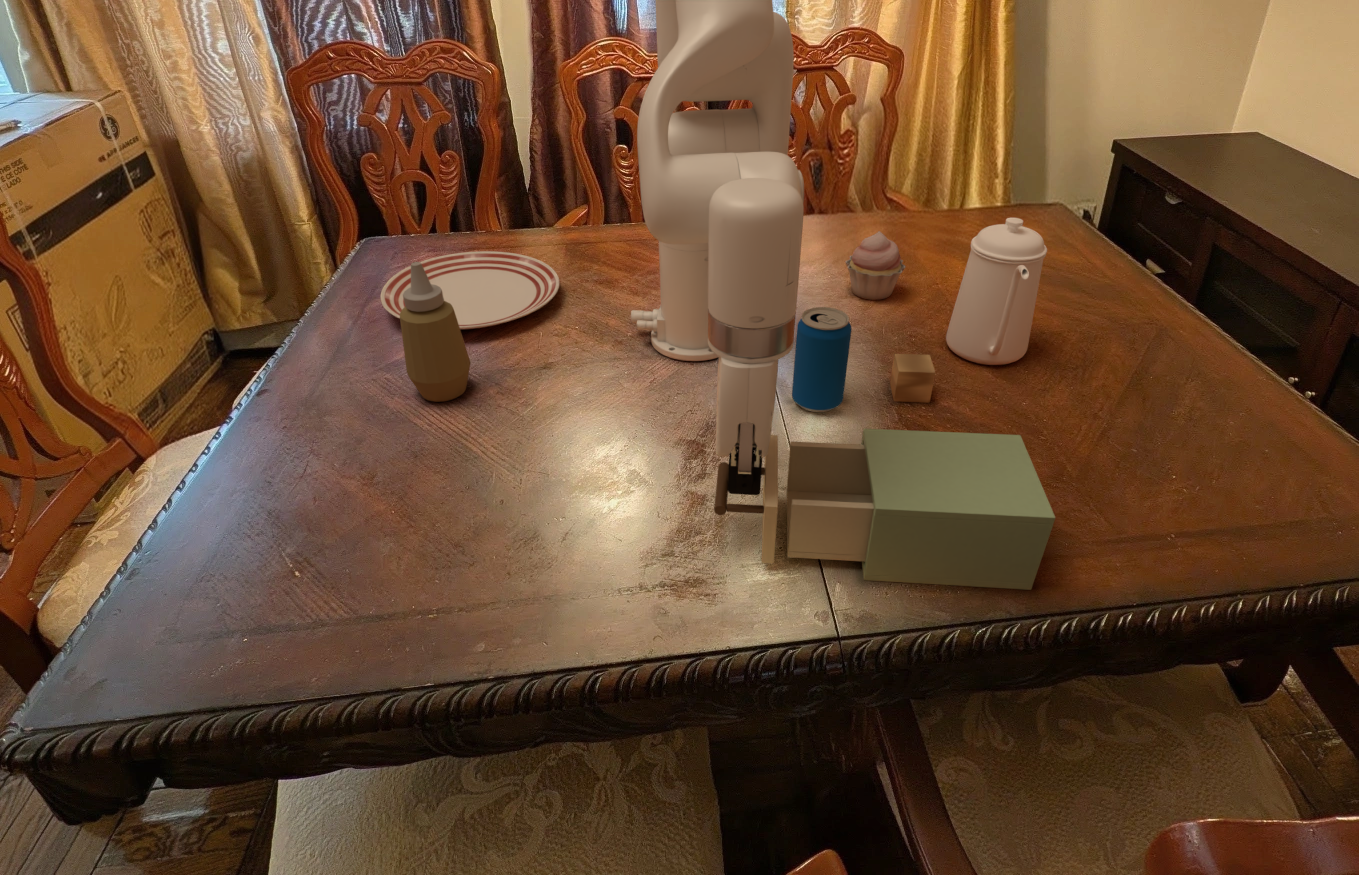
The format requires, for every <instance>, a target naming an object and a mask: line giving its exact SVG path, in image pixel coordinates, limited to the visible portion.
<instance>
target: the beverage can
mask: <svg viewBox="0 0 1359 875" xmlns="http://www.w3.org/2000/svg"><path fill="white" fill-rule="evenodd" d="M796 326H797V327H796V337H795V338H796V339H795V351H794V363H793V375H792V376H793V377H792V390H791V397H792V401H794V403H796V404H797V405H798V406H800V407H801V408H802V409H804V410H806V411H809V412H812V413H826V412H829V411H831V410H833V409H836V408H838V407H839V406H840V405H841V404H842V403H843V401H844V396H845V395H844V394H845V387H846V380H847V378H846V377H847V371H848V361H849V354H850V348H851V347H850V345H851V337H852V330H853V329H852V325H851V322H850V317H849V315H848V314H847V313H846V312H845V311H843V310H841V309H838V308H834V307H830V306H829V307H828V306H816V307H811V308H808V309H806V310H805V311H803V312H802V314H801V318H800V320H798V322H797V325H796Z"/></svg>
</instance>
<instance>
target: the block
mask: <svg viewBox="0 0 1359 875" xmlns="http://www.w3.org/2000/svg"><path fill="white" fill-rule="evenodd" d="M935 376H936V370H935V367H934V364H933V359H932V357H931V354H923V353H922V354H920V353H919V354H918V353H894V355H893V361H892V367H891V373H890V378H889V385H890V390H891V391H890V392H891V394H892V399H893V402H899V403H902V402H903V403H927V404H928V403H929V404H930V402H931V397H932V392H933V387H934V384H935V383H934V382H935Z"/></svg>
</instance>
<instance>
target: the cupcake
mask: <svg viewBox="0 0 1359 875" xmlns="http://www.w3.org/2000/svg"><path fill="white" fill-rule="evenodd" d="M899 249H900V248H899V246H898V244H897V243H896V242H894V240H891V239H888V238H887V236H886V235H885V234H884V233H883V232H882V231H880V230H878V231H876V233H874V234H872V235H869V236H867V237H865V238H864V239H862V241H860V244H859V245H858V246H857V247H856V248H855V249H854V250H853V252H852V255H849V259H847V260H845V261H844V262H845V265H846V268H847V270H848V273H849V278H850V286H851V287H850V288H851V291H852V293H853V294H854V295H855V296H856V297H858V298H861V299H865V300H871V301H872V300H873V301H877V300H884V299H887V298H889V297H890V296H891V295H892V294H893V292H894V290H895V287H896V284H897V282H898V280H899V278H900V276H901V275H902V273H903V272H904V271H905V269H906V267H907V266H906V265H905V264H903V262H904V260H903V259H901V253H900V250H899Z"/></svg>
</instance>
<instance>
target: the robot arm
mask: <svg viewBox="0 0 1359 875" xmlns="http://www.w3.org/2000/svg"><path fill="white" fill-rule="evenodd" d="M773 5H774V4H773V0H655V27H656V28H655V29H656V53H657V54H656V56H657V69H656V70H655V72H654V73H653V76H652V77H651V79H650V81H649V82H648V85H647V87H646V89H645V92H644V95H643V98H642V102H641V103H640V108H639V113H638V118H637V127H636V128H637V129H636V131H637V132H636V144H637V145H636V147H637V160H638V162H637V163H638V172H639V174H638V175H639V187H640V190H639V191H640V198H641V209H642V215H643V219H644V223H645V225H646V228H647V230H648V231H649V233H650V234H651V235H652V237H653V238H654V239H656V240H657V241H658V263H659V264H658V265H659V291H660V292H659V293H660V294H659V295H660V298H659V299H660V305H659V308H653V309H652V310H651V311H650V310H643V309H642V310H638V309H637V310H636V309H632V310H631V311H630V324H635V325H636V330H637V331H651V332H650V343H651V345H652V347H653V348H654V349H655V351H657V352H658V353H660V354H661V355H663V356H665V357H668V358H669V359H674V360H679V361H684V362H685V361H686V362H703V361H704V362H705V361H708V360H709V361H710V360H714V359H717V358H718V361H717V373H716V374H717V375H716V377H717V378H716V413H715V414H716V416H715V417H716V419H715V420H716V421H715V448H714V449H715V451H714V452H715V454H716V455H717V456H718V457H719V458H722V457H727V458H728V464H729V474H728V494H730V495H745V496H746V495H747V496H759V495H760V494H761V490H762V489H761V488H762V487H761V486H762V475H761V471H762V467H763V459H765V456H766V455H767V454H768V449H769V442H770V436H771V435H772V429H773V428H772V427H773V423H774V422H773V421H774V414H775V406H776V405H775V404H776V397H777V396H776V395H777V384H778V372H779V371H778V370H779V360H780V359H783V358H784V357H786V356H787V355H789V354H790V352H791V351H792V350H793V348H794V344H795V330H796V328H795V327H796V315H797V304H798V293H799V280H800V279H799V278H800V267H801V253H802V240H803V228H804V213H805V212H804V208H805V206H804V202H805V183H804V176H803V173H802V171H801V169H798V166H797V165H796V163H795V161H794V159H793V158H792V157H790V156H789V155H788V154H789V144H790V142H789V141H790V129H791V128H790V126H791V111H792V96H793V82H794V62H795V61H794V58H795V56H794V54H795V52H794V43H793V42H794V40H793V35H792V31H791V28H790V26H789V24H788V22H787V20H786V19H785V18H784V16H782V15H781V14H780V13H778V12H775V11H774V6H773ZM742 100H743V101H748V102H750V103H751V104H752V106H751V107H750V108H731V109H730V108H729V109H718V108H716V109H696V110H695V109H694V110H683V111H676V112H675V110H676V109H677V107H678V106H679V105H680V104H681V103H682V102H694V103H695V102H699V103H700V102H724V101H742Z"/></svg>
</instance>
